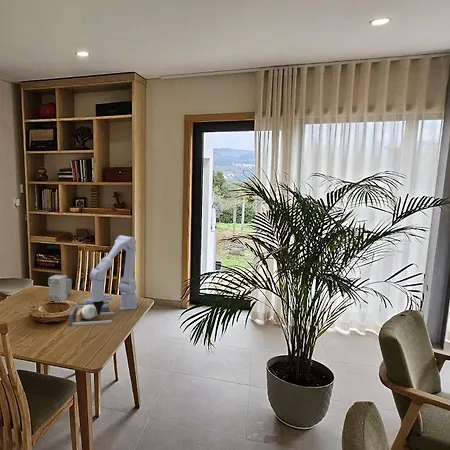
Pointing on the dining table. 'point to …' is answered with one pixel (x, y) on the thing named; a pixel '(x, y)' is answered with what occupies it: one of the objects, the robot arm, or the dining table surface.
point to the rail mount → (104, 309)
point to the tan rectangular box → (79, 315)
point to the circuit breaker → (59, 287)
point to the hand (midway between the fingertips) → (98, 314)
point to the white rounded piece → (88, 312)
